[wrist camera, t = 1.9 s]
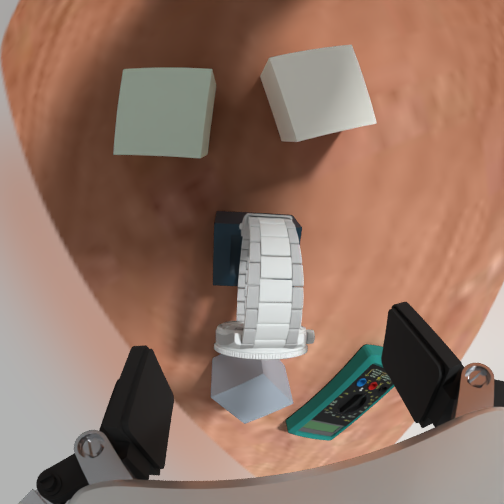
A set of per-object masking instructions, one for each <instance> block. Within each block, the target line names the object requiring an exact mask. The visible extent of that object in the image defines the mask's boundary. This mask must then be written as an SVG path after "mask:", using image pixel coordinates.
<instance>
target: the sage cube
mask: <svg viewBox="0 0 504 504" xmlns="http://www.w3.org/2000/svg"><path fill="white" fill-rule="evenodd" d="M215 92H216V82H215V78H214V74H213V71H212V69H204V68H134V69H123V74H122V80H121V87H120V93H119V101H118V109H117V118H116V127H115V139H114V153H113V155H150V156H172V157H188V158H202V157H204V156H206V155H207V154H208V148H209V139H210V131H211V122H212V115H213V107H214V100H215Z"/></svg>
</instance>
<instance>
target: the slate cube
mask: <svg viewBox="0 0 504 504" xmlns="http://www.w3.org/2000/svg"><path fill="white" fill-rule="evenodd" d="M211 398H212V399H213V400H215V401H216V402H217V403H218V404H220V405H221V406H222V407H224V408H225V409H226V410H227V411H229V412H230V413H231V414H233V415H234V416H235V417H237V418H238V419H239V420H241V421H242V422H243V423H248V422H251V421H253V420H256V419H258V418H261V417H263V416H266V415H268V414H270V413H273V412H275V411H277V410H280V409H282V408H284V407H287V406H289V405H291V404H293V400H292V395H291V391H290V387H289V382H288V378H287V374H286V370H285V366H284V365H283V364H282V362H281V361H280V360H279V359H274V360H256V359H244V358H236V357H231V356H227V355H224V354H220V355H218V356H216V357H214V358H213V359H212V379H211Z"/></svg>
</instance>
